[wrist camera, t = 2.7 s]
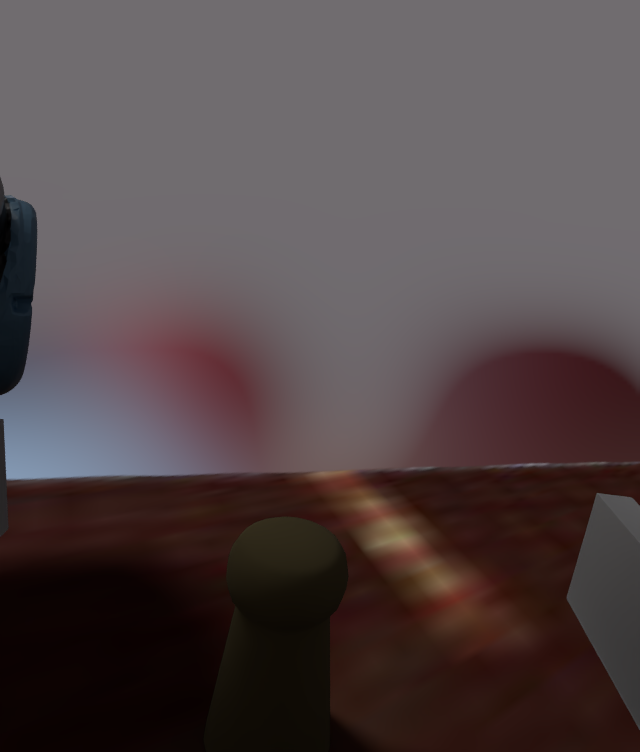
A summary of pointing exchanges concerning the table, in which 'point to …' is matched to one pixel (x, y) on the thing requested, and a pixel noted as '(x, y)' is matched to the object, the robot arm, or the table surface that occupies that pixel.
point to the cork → (278, 640)
